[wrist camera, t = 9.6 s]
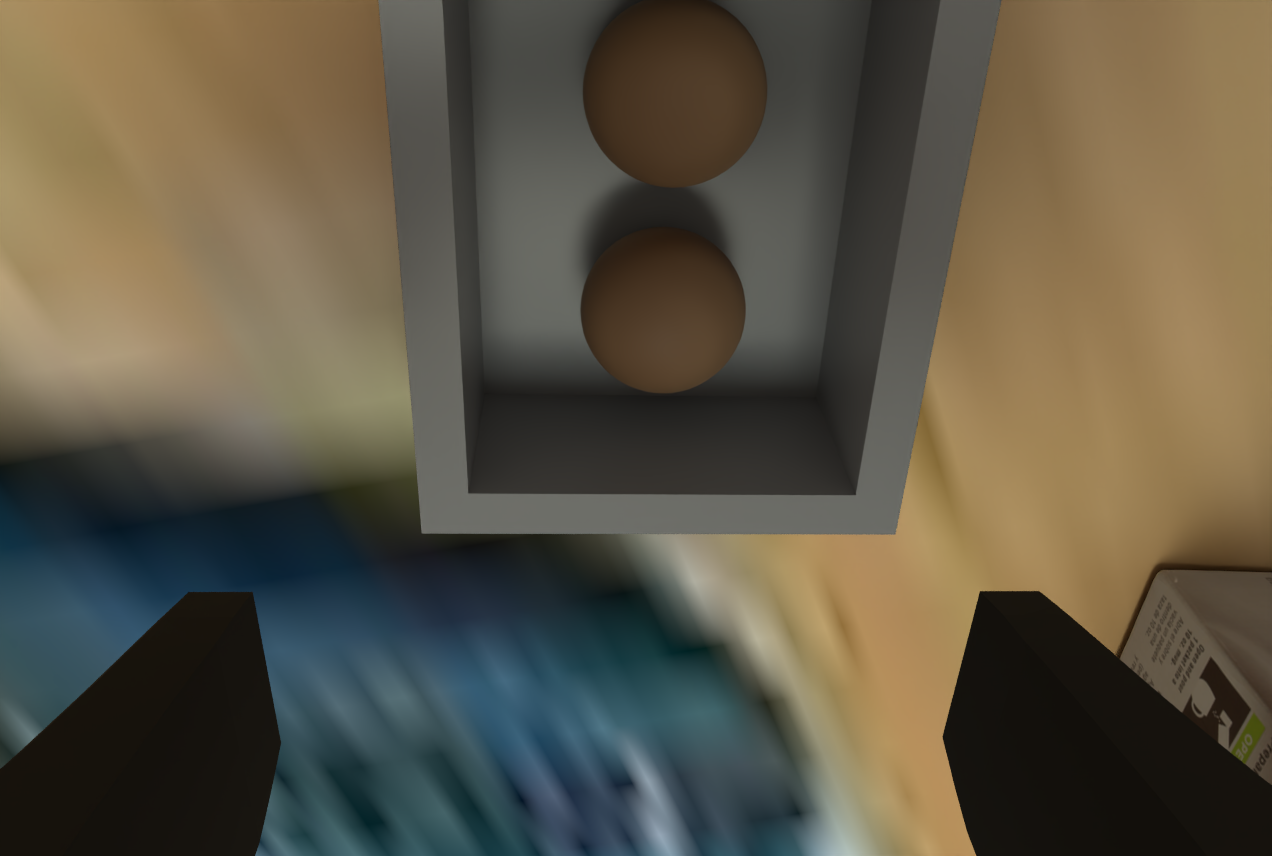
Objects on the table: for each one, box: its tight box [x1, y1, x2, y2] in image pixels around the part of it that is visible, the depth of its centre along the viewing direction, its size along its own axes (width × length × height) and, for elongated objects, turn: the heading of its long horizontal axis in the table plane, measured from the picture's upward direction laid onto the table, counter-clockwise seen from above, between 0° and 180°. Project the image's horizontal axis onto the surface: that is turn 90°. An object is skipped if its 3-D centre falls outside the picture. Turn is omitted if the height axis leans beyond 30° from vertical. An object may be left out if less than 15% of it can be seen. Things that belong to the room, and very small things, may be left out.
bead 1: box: [583, 0, 767, 188], centre depth 16 cm, size 3×3×3 cm
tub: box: [379, 0, 1001, 534], centre depth 17 cm, size 8×10×4 cm
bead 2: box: [580, 227, 746, 393], centre depth 18 cm, size 3×3×3 cm
